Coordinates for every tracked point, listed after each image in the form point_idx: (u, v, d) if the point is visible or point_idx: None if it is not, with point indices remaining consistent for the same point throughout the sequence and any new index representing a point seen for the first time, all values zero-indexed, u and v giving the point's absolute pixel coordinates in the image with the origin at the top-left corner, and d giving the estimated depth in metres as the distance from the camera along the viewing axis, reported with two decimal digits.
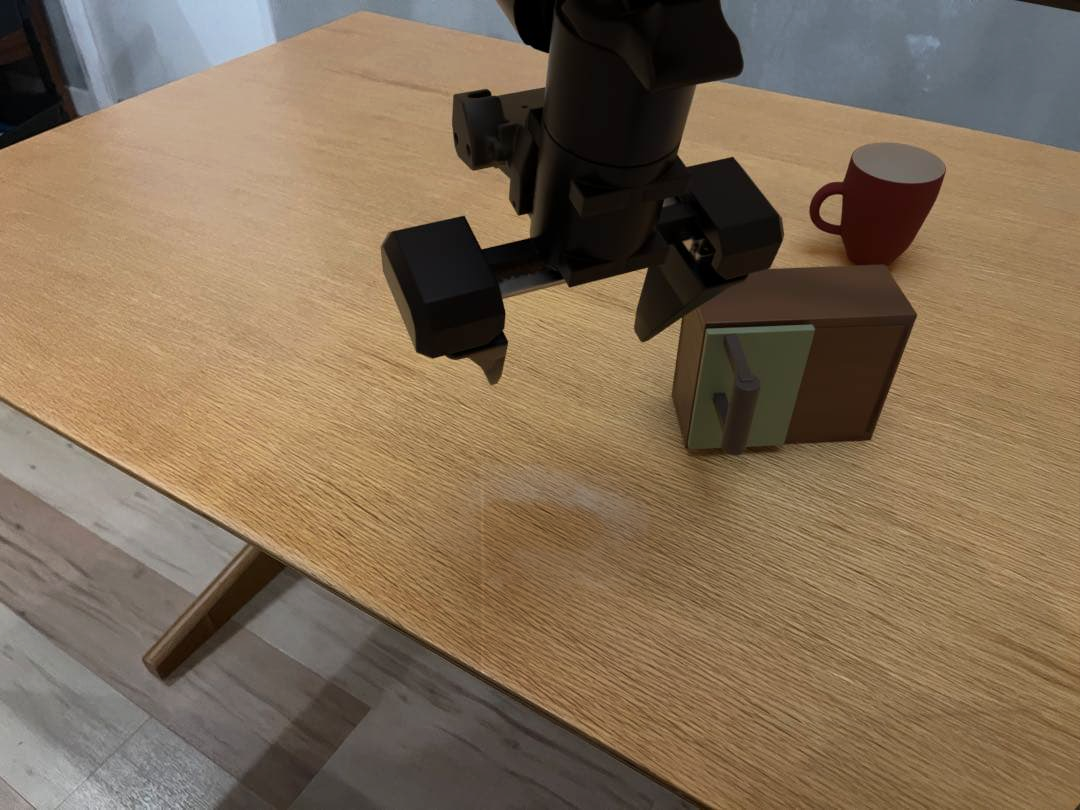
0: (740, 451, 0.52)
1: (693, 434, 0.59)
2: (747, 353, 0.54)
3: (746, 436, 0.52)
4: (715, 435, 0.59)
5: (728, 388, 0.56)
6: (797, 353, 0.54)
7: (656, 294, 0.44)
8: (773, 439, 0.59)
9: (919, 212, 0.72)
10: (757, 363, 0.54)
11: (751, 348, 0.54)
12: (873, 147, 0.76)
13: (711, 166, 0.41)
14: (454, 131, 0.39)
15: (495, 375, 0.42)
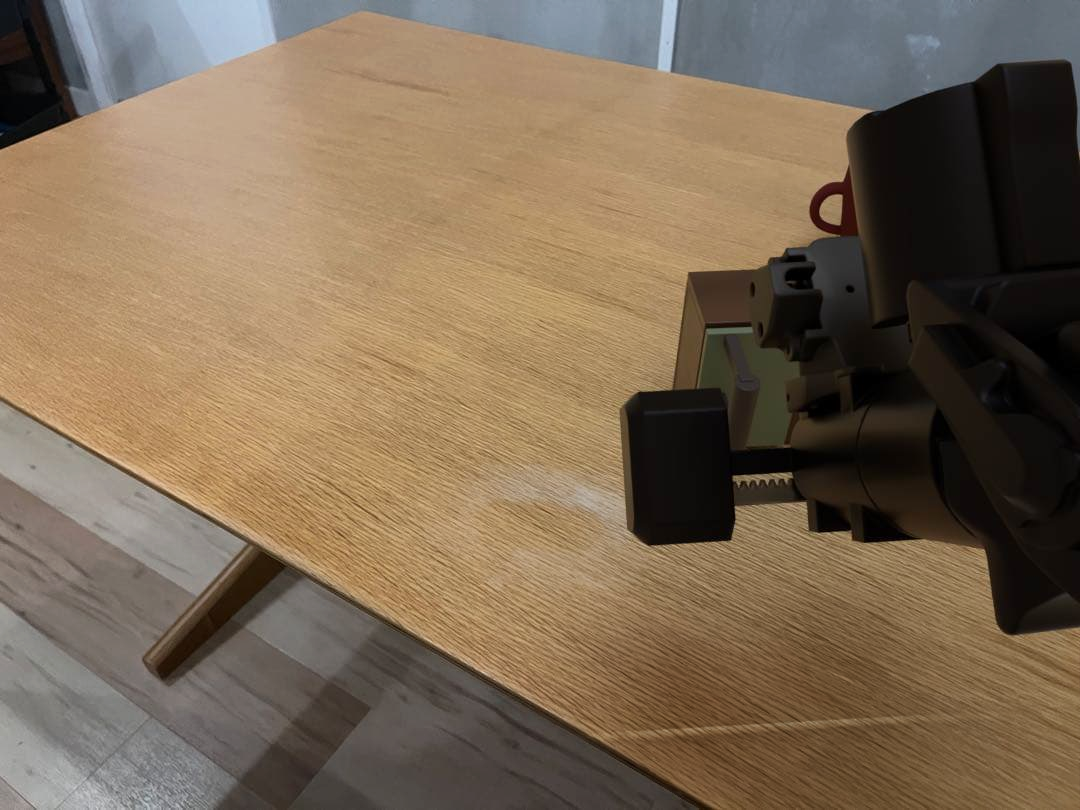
0: None
1: None
2: (747, 353, 0.54)
3: (746, 436, 0.52)
4: None
5: (728, 388, 0.56)
6: None
7: None
8: (773, 439, 0.59)
9: None
10: (757, 363, 0.54)
11: (751, 348, 0.54)
12: None
13: None
14: (753, 282, 0.32)
15: None
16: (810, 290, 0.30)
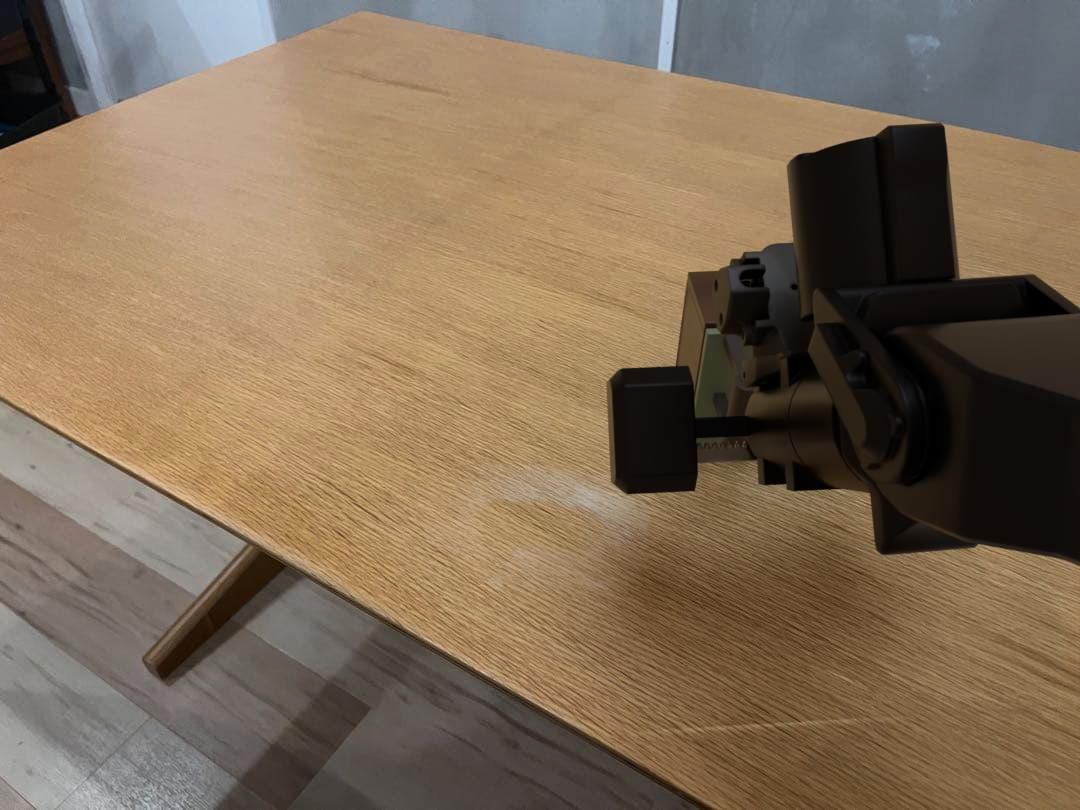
0: None
1: None
2: (747, 353, 0.54)
3: None
4: None
5: (728, 388, 0.56)
6: None
7: None
8: None
9: None
10: None
11: (751, 348, 0.54)
12: None
13: None
14: (716, 279, 0.39)
15: None
16: (759, 288, 0.37)
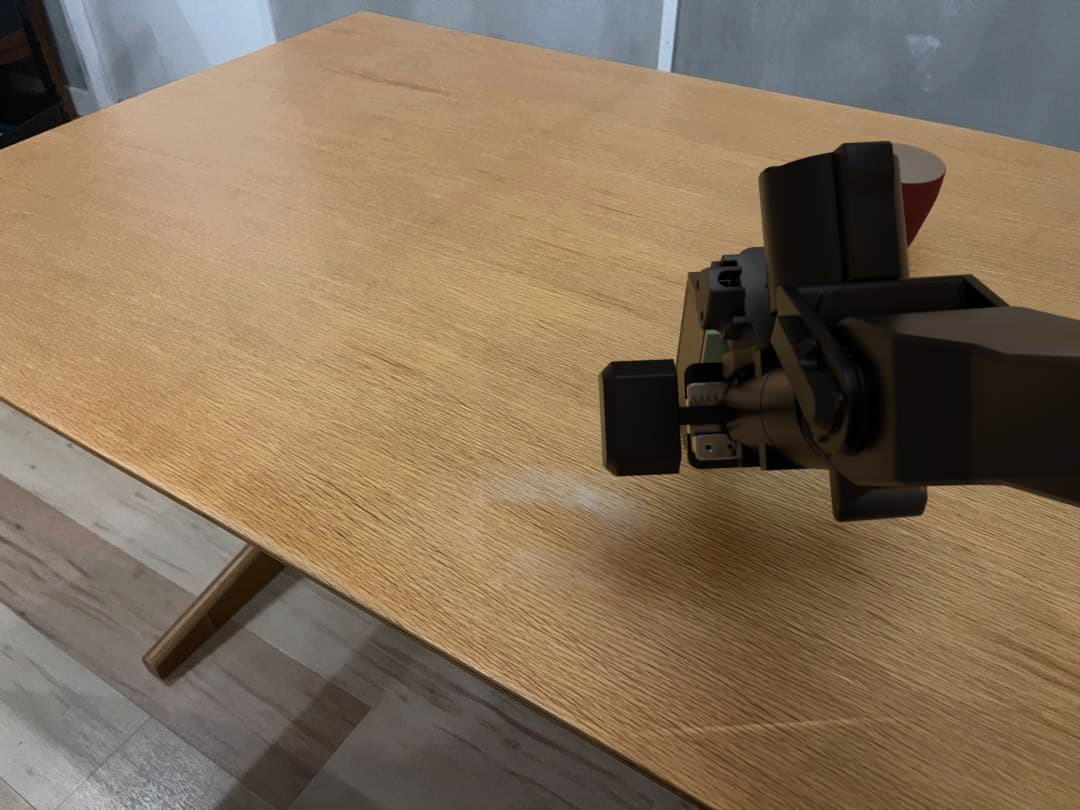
0: None
1: None
2: None
3: None
4: None
5: None
6: None
7: None
8: None
9: (919, 212, 0.72)
10: None
11: None
12: None
13: None
14: (698, 280, 0.43)
15: None
16: (736, 287, 0.40)
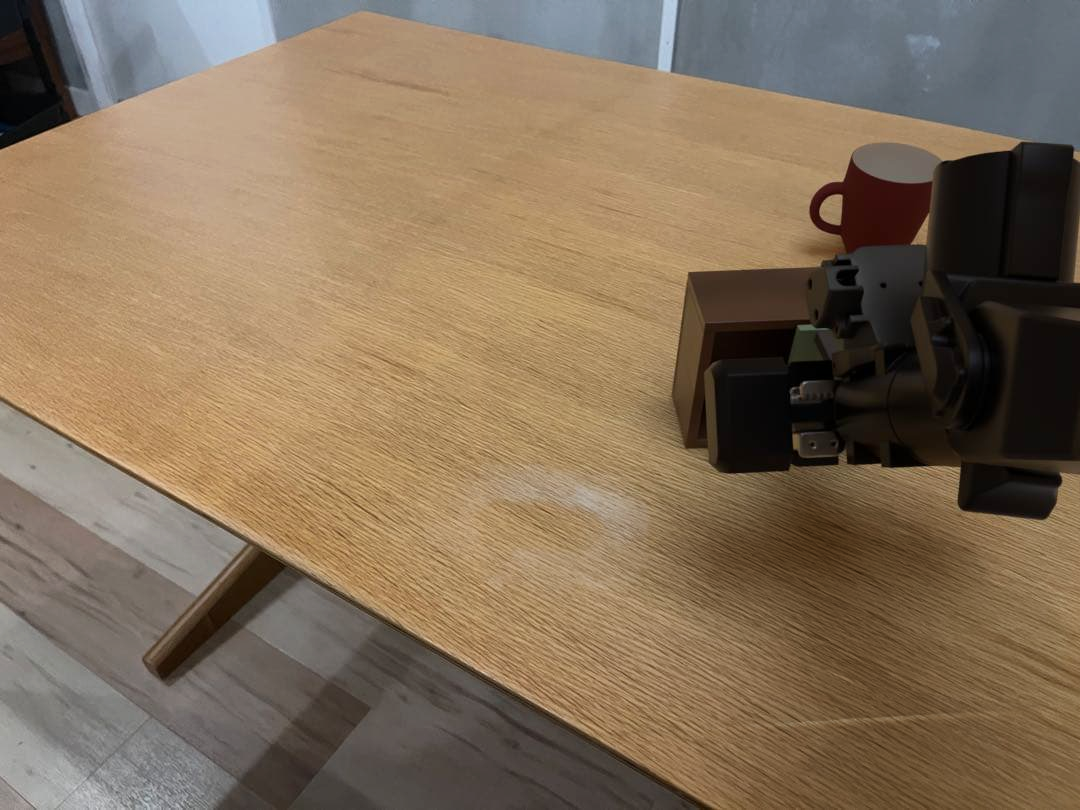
0: None
1: None
2: None
3: None
4: None
5: None
6: None
7: None
8: None
9: (919, 212, 0.72)
10: None
11: (841, 345, 0.54)
12: (873, 147, 0.76)
13: None
14: (811, 278, 0.43)
15: None
16: (855, 286, 0.41)
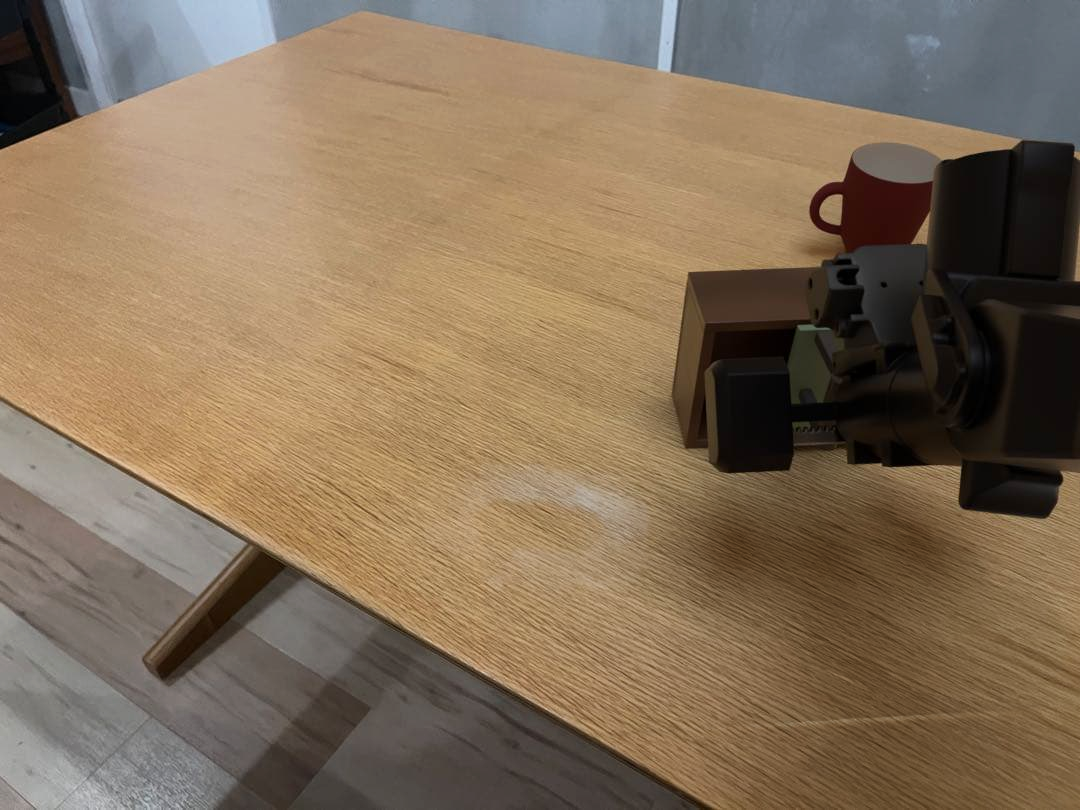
0: (832, 447, 0.53)
1: None
2: None
3: None
4: None
5: (815, 384, 0.56)
6: None
7: None
8: None
9: (919, 212, 0.72)
10: None
11: (841, 345, 0.54)
12: (873, 147, 0.76)
13: None
14: (811, 278, 0.43)
15: None
16: (855, 286, 0.41)
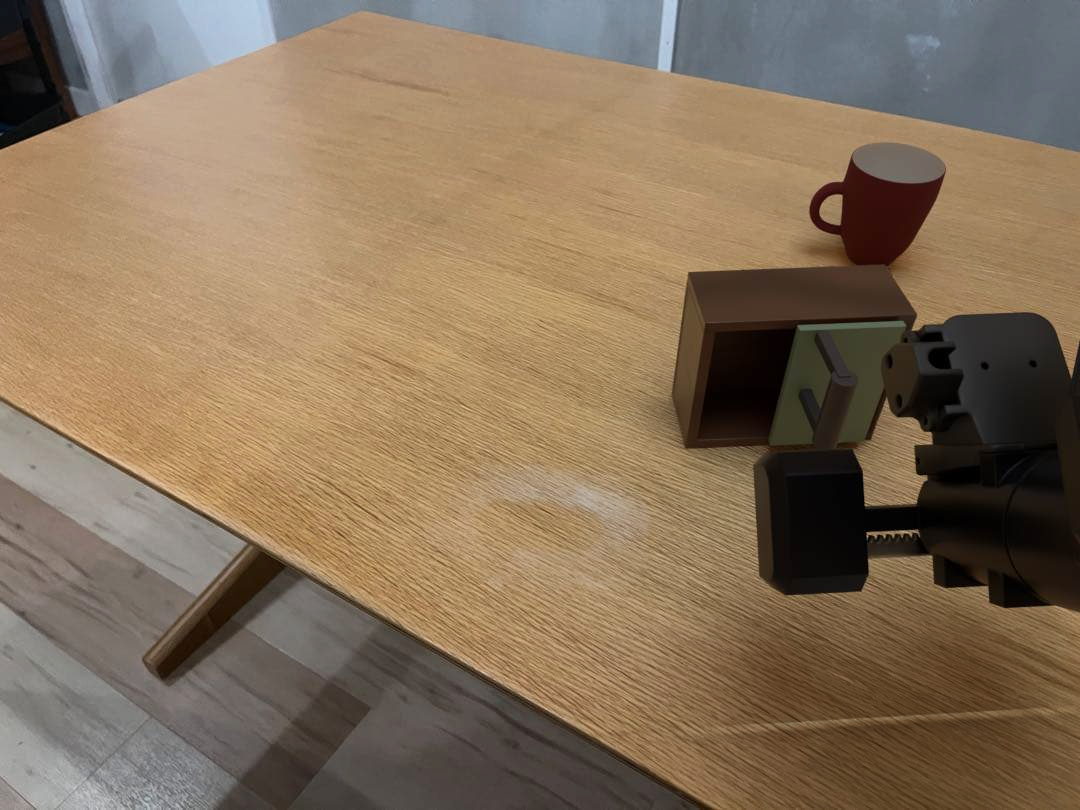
0: (832, 447, 0.53)
1: (776, 430, 0.59)
2: None
3: (839, 432, 0.52)
4: (797, 431, 0.59)
5: (815, 384, 0.56)
6: (887, 349, 0.54)
7: None
8: (854, 435, 0.60)
9: (919, 212, 0.72)
10: (846, 359, 0.55)
11: (841, 345, 0.54)
12: (873, 147, 0.76)
13: None
14: (891, 355, 0.34)
15: None
16: (952, 370, 0.32)
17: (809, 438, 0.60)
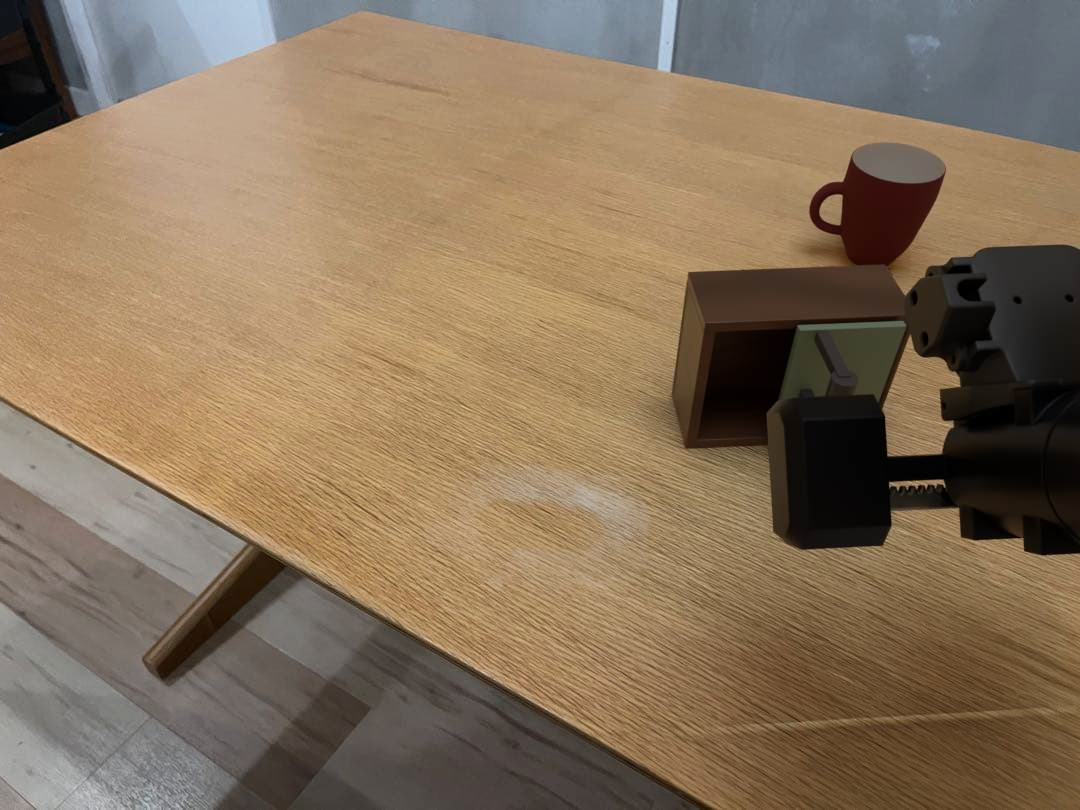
0: None
1: None
2: None
3: None
4: None
5: (815, 384, 0.56)
6: (887, 349, 0.54)
7: None
8: None
9: (919, 212, 0.72)
10: (846, 359, 0.55)
11: (841, 345, 0.54)
12: (873, 147, 0.76)
13: None
14: (916, 290, 0.32)
15: None
16: (984, 302, 0.30)
17: None
